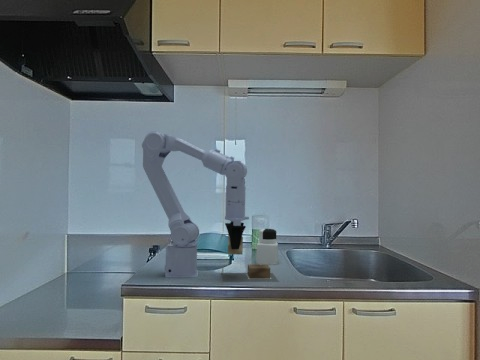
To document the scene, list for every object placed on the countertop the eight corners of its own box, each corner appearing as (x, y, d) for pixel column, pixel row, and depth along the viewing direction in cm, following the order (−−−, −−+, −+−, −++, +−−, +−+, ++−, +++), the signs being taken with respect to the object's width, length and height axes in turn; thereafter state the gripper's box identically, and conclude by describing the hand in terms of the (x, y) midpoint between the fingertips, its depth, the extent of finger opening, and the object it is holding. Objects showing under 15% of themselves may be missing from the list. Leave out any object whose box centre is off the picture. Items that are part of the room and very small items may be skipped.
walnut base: (249, 278, 137) (249, 268, 137) (247, 274, 143) (247, 264, 143) (270, 278, 138) (270, 268, 138) (267, 274, 144) (267, 264, 144)
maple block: (228, 254, 137) (229, 237, 137) (227, 252, 141) (228, 235, 141) (242, 254, 137) (242, 237, 137) (241, 252, 141) (241, 235, 141)
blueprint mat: (222, 282, 133) (222, 281, 133) (220, 274, 145) (220, 272, 145) (279, 282, 134) (279, 281, 134) (272, 274, 146) (272, 273, 146)
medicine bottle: (277, 262, 167) (278, 228, 167) (277, 265, 160) (277, 230, 160) (257, 261, 168) (258, 227, 168) (256, 265, 161) (256, 229, 161)
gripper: (251, 203, 132) (250, 251, 132) (246, 200, 146) (245, 244, 146) (226, 202, 131) (225, 251, 131) (223, 200, 146) (222, 244, 146)
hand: (234, 248), depth 139 cm, fingers closed on maple block, 4 cm apart
